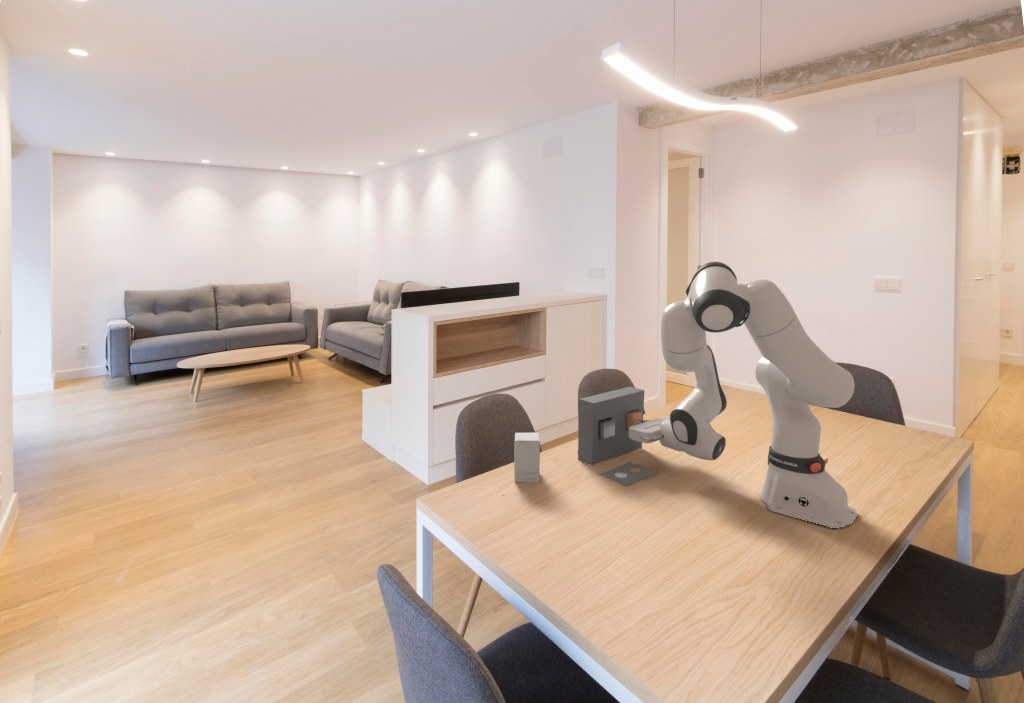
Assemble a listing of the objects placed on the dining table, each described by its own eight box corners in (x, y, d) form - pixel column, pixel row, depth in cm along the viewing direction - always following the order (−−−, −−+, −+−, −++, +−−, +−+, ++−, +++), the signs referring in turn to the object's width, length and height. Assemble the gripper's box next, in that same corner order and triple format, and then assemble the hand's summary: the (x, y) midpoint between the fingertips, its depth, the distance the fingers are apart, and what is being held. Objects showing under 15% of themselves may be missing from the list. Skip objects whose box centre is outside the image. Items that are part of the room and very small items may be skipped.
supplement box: (539, 482, 158) (540, 440, 155) (514, 482, 158) (514, 440, 155) (539, 472, 165) (539, 432, 162) (514, 471, 165) (514, 431, 162)
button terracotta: (641, 426, 179) (642, 412, 178) (631, 430, 176) (631, 415, 175) (634, 424, 181) (634, 410, 180) (624, 427, 178) (624, 412, 177)
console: (641, 447, 184) (644, 390, 180) (591, 465, 169) (593, 403, 165) (627, 442, 188) (630, 386, 185) (577, 459, 174) (579, 398, 170)
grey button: (614, 435, 171) (615, 420, 170) (603, 439, 168) (604, 423, 167) (607, 432, 173) (607, 417, 172) (596, 436, 170) (596, 420, 169)
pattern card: (656, 473, 164) (656, 471, 164) (625, 486, 155) (625, 484, 155) (630, 462, 171) (630, 461, 171) (599, 474, 163) (599, 472, 163)
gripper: (650, 451, 160) (614, 438, 170) (691, 436, 172) (655, 425, 183) (651, 431, 158) (614, 419, 169) (692, 417, 171) (656, 407, 181)
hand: (636, 422), depth 176 cm, fingers closed
